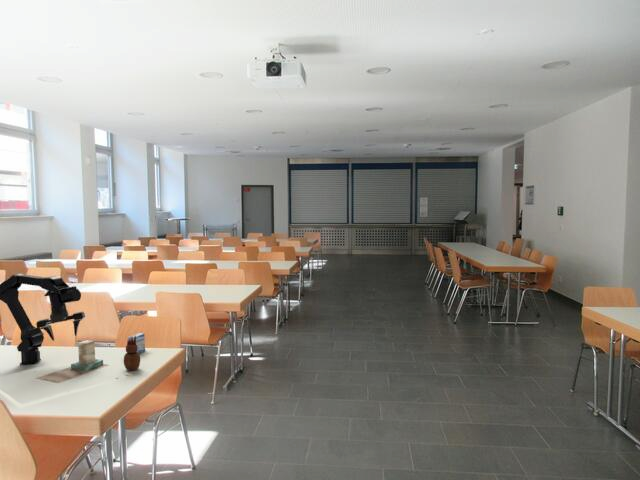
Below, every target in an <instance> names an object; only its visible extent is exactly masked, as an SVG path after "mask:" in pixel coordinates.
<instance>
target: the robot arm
mask: <svg viewBox="0 0 640 480" xmlns="http://www.w3.org/2000/svg"><path fill="white" fill-rule="evenodd" d="M22 285H27V286H28V285H30V286H35V287H36V286H37V287H39V288H41V289H43V290H46V293H45V294H44V297H49V303H50V311H51V312H50V315H49V318H44V319H40V320H38V321H36V323H35V326H34V325H33V323H32V322H31V320H30V318H29V316H28V314H27V313H26V310H25V309H24V307H23V305H22V303H21V302H20V300H19V294H20V293H19V288H21V286H22ZM81 298H82V293H81V291H80V289H78V288H77V286H76V285H75V286H74V285H73V286H69V284H67V282H65V281H64V279H63V277H62V276H59V275H57V276H45V277H44V276H37V275H30V274H24V273H16V274H12V275H11V276H10V277H9V278H8V279H6V280H4V281H3V282H1V283H0V301H2V302H3V303H4V304H6V305H7V307H8V310H9V311H10V313H11V314H12V317H13V319H14V320H15V322H16V324H17V326H18V328H19V329H20V340H21V342H20V343H19V344H18V345H17V346H16V349H17V351H18V353H19V352H20V357H21V361H20V363H19V365H34V364H37V363H38V362H40V361H42V359H41V352H40V351H41V350H40V349H39V348H41V347H42V345H43V342H44V339H45V336H44V335H45V333H44V332H43V331H42V330H44V331H45V332H46V333H47V334H48V336H49V338H50V339H51V340H52V342H54V341H55V336H54V332H53V328H52V325H51V324H56V323H61V322H65V321H70V320H73V321H72V323H73V331H74V336H75V337H76V336H78V335H77V334H78V331H79V329H78V328H79V325H80V321H82V320H83V319H85V317H86V314H85V312H84V311H78V312H74V313H73V314H71V315H69V311H68V310H67V305H66V304H67V303H69V304H70V303H73V302H78V301H81Z"/></svg>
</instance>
